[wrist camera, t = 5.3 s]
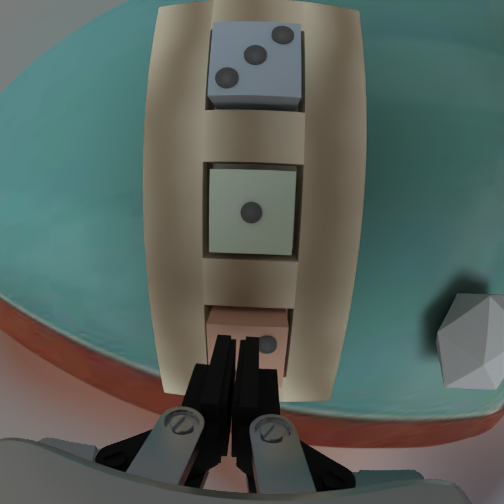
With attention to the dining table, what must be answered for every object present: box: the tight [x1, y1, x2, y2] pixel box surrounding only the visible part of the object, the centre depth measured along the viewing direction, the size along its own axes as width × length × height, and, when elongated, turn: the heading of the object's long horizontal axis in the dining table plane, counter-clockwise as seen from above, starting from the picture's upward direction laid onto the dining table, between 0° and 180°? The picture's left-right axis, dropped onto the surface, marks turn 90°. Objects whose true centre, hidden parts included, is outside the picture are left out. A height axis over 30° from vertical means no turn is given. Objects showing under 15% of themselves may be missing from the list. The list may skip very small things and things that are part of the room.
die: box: [436, 293, 504, 390], centre depth 17 cm, size 8×9×10 cm
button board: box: [143, 0, 367, 402], centre depth 17 cm, size 12×26×4 cm, turn 178°
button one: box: [209, 169, 296, 255], centre depth 16 cm, size 4×4×3 cm
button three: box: [207, 21, 301, 111], centre depth 13 cm, size 4×4×3 cm
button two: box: [206, 305, 289, 388], centre depth 17 cm, size 4×4×3 cm
